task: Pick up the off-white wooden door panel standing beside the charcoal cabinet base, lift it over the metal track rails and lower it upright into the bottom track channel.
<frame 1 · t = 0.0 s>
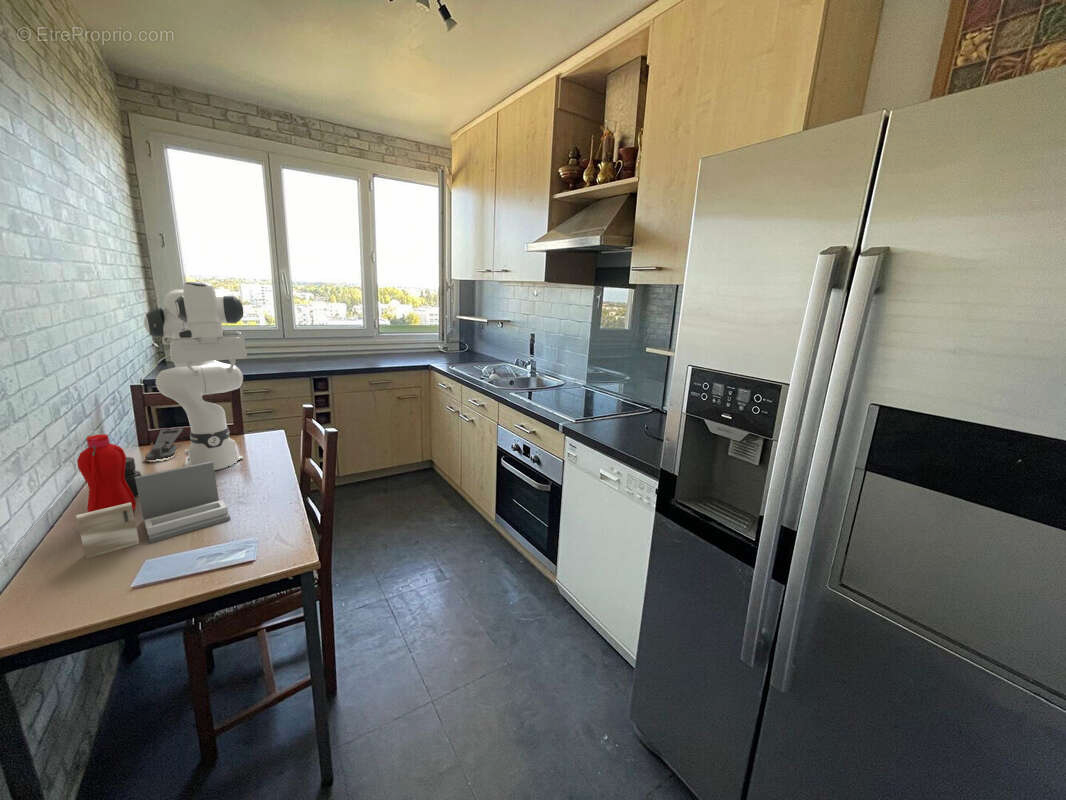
hand: (213, 374, 143), 39 cm above the table, tool pointing down, fingers open, 8 cm apart
ink bottle: (126, 495, 141), on the table
dark grey phone stand: (166, 452, 180), on the table
cabinet base: (188, 523, 125), on the table
door panel: (113, 548, 112), on the table
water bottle: (113, 517, 128), on the table
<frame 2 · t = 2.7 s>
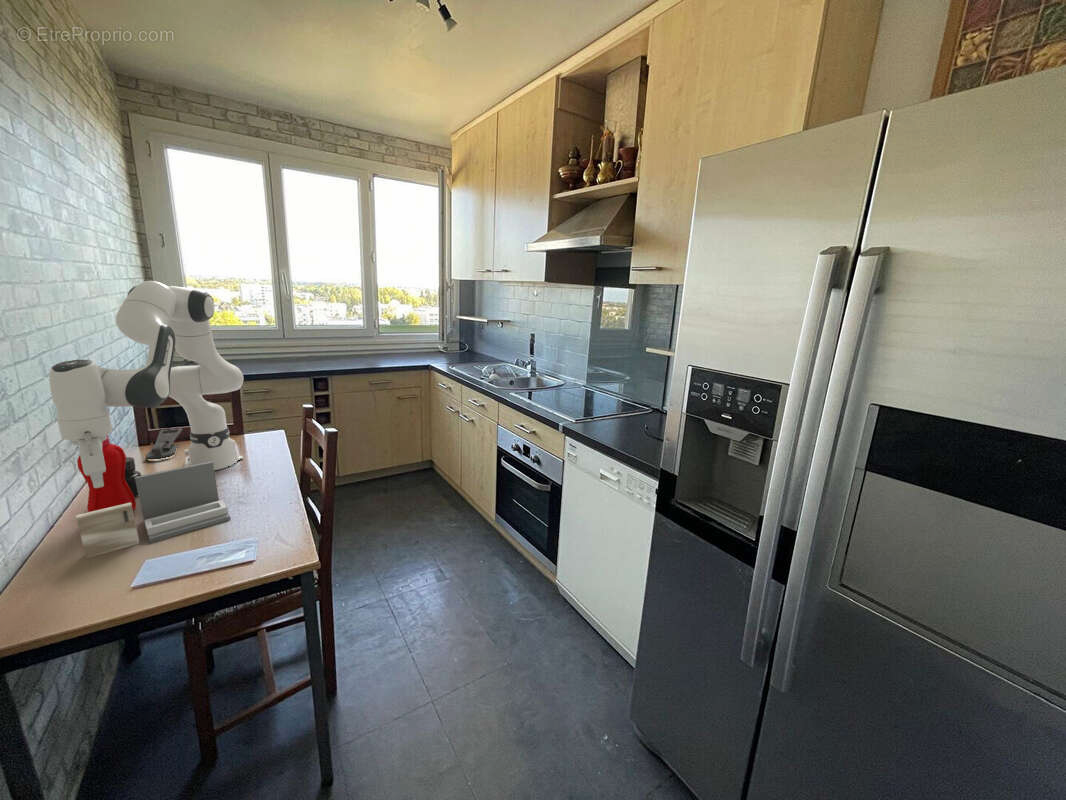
hand: (98, 480, 108), 19 cm above the table, tool pointing down, fingers open, 8 cm apart
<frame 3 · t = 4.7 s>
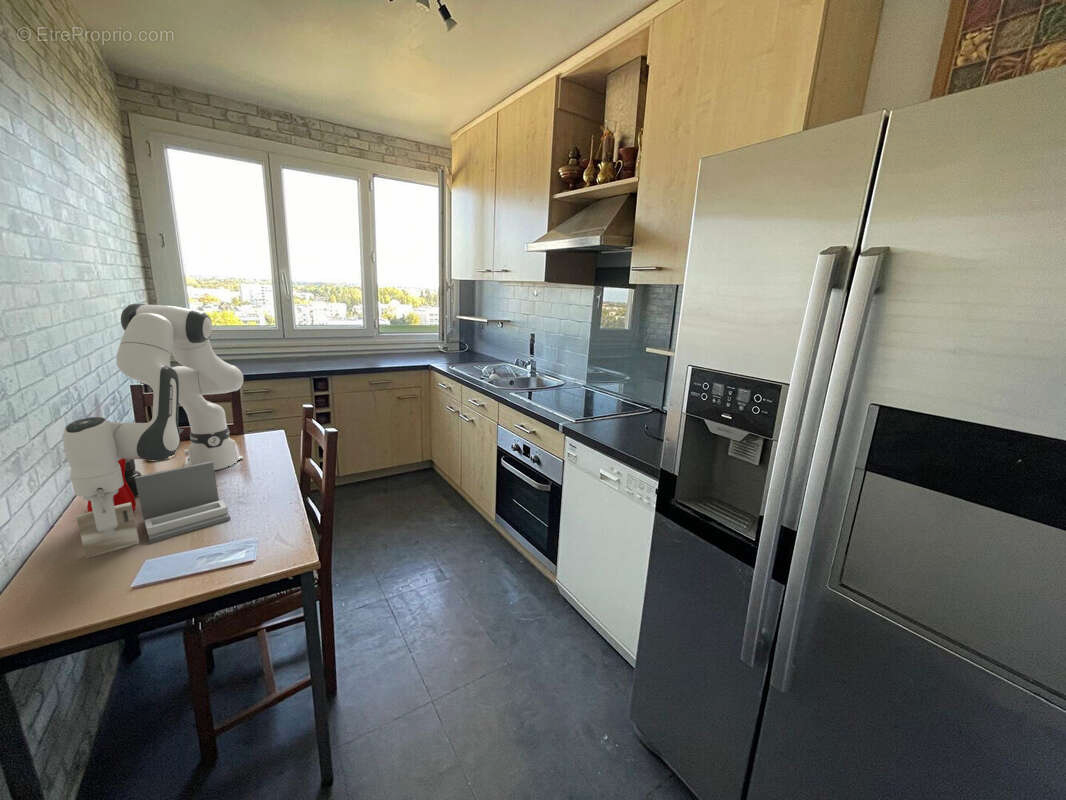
hand: (109, 532, 111), 5 cm above the table, tool pointing down, fingers closed on door panel, 2 cm apart
door panel: (113, 548, 112), on the table, touching gripper
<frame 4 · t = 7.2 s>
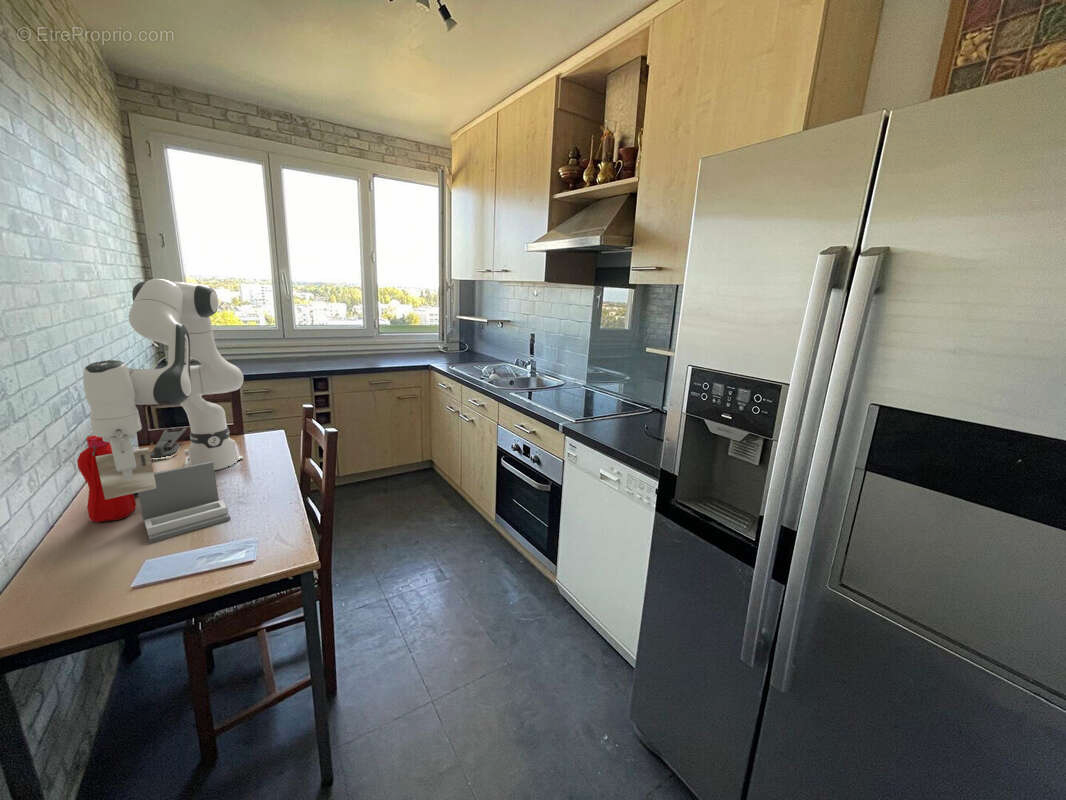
hand: (128, 475, 113), 18 cm above the table, tool pointing down, fingers closed on door panel, 2 cm apart
door panel: (131, 492, 114), point 14 cm above the table, touching gripper
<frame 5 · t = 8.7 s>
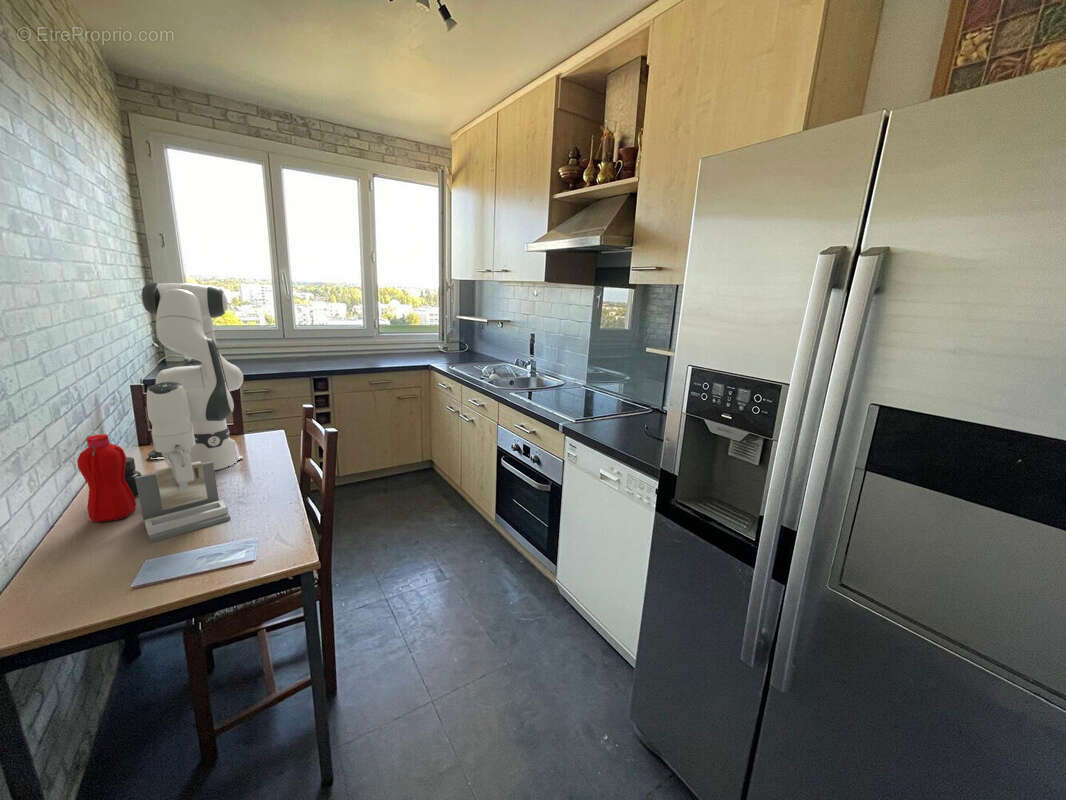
hand: (182, 487, 122), 11 cm above the table, tool pointing down, fingers closed on door panel, 2 cm apart
door panel: (185, 502, 124), point 7 cm above the table, touching gripper
when the fingers open (7 cm above the table, at t = 9.8 s): door panel drops 1 cm, resting on cabinet base.
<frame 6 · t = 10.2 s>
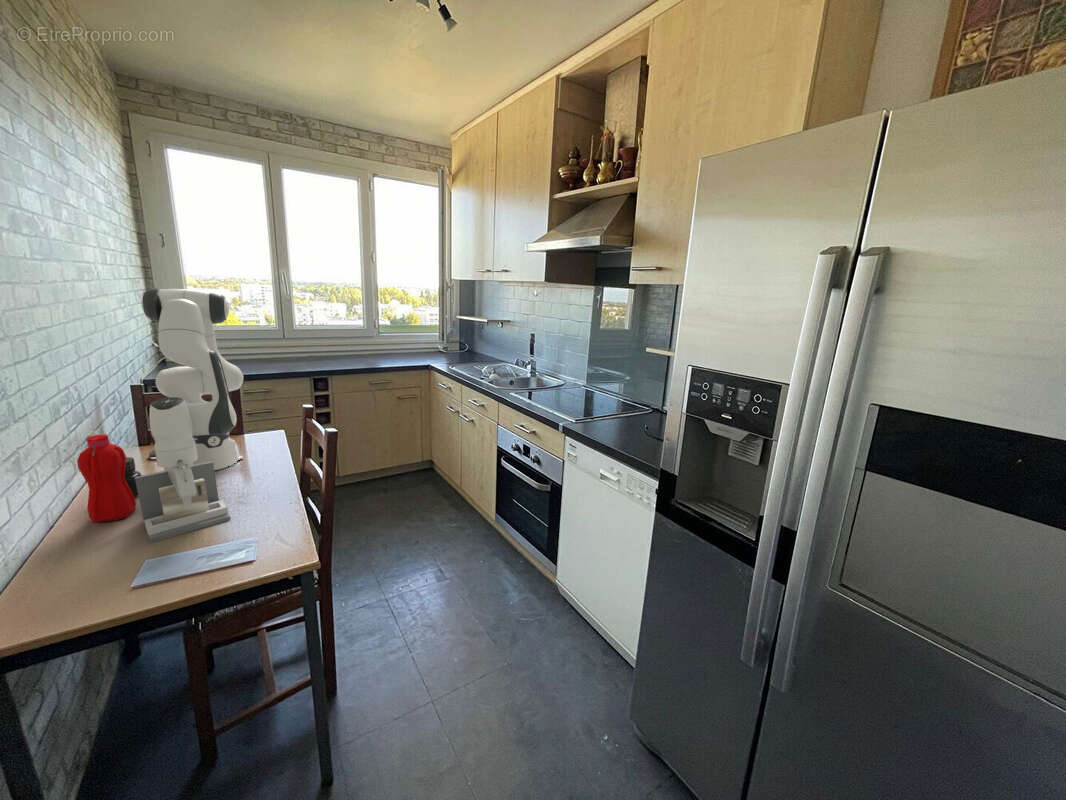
hand: (185, 501, 123), 7 cm above the table, tool pointing down, fingers open, 7 cm apart
door panel: (188, 519, 125), point 1 cm above the table, touching cabinet base
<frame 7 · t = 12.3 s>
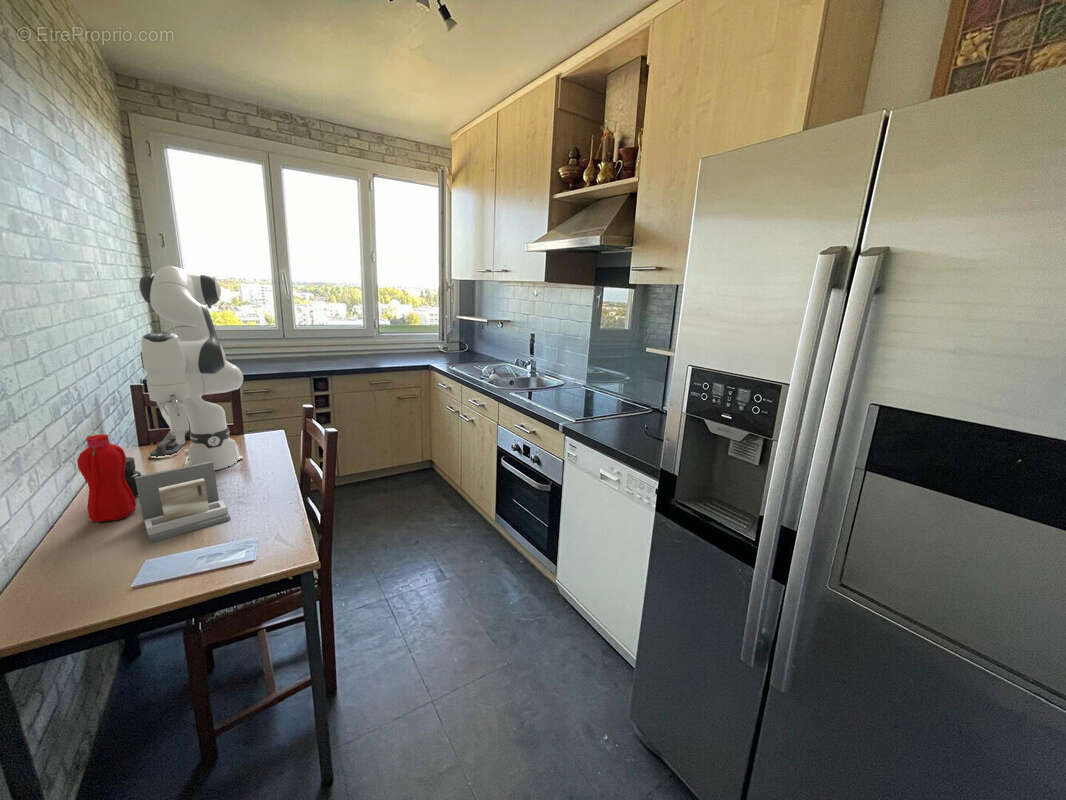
hand: (178, 438, 123), 25 cm above the table, tool pointing down, fingers open, 8 cm apart
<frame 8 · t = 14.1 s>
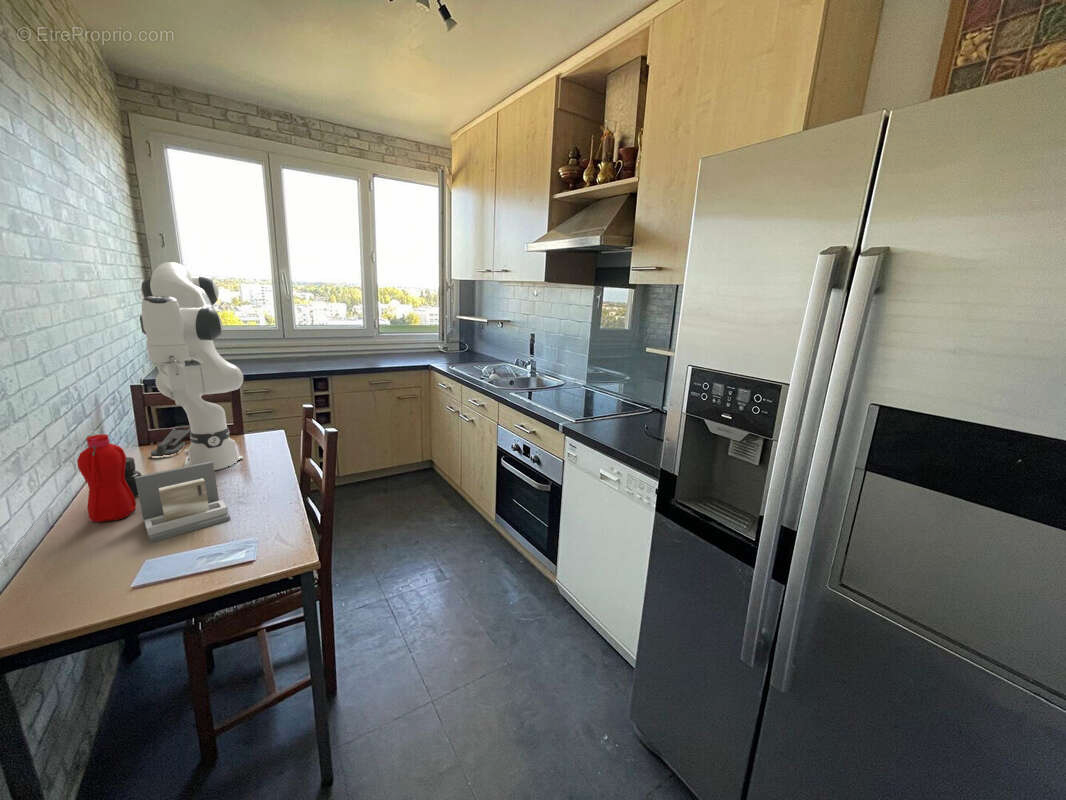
hand: (177, 401, 126), 34 cm above the table, tool pointing down, fingers open, 8 cm apart
at the end: door panel 0.1 cm off-centre on the cabinet base, point 1.2 cm above the cabinet base's base; door panel tilted 0°; the gripper is holding nothing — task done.
